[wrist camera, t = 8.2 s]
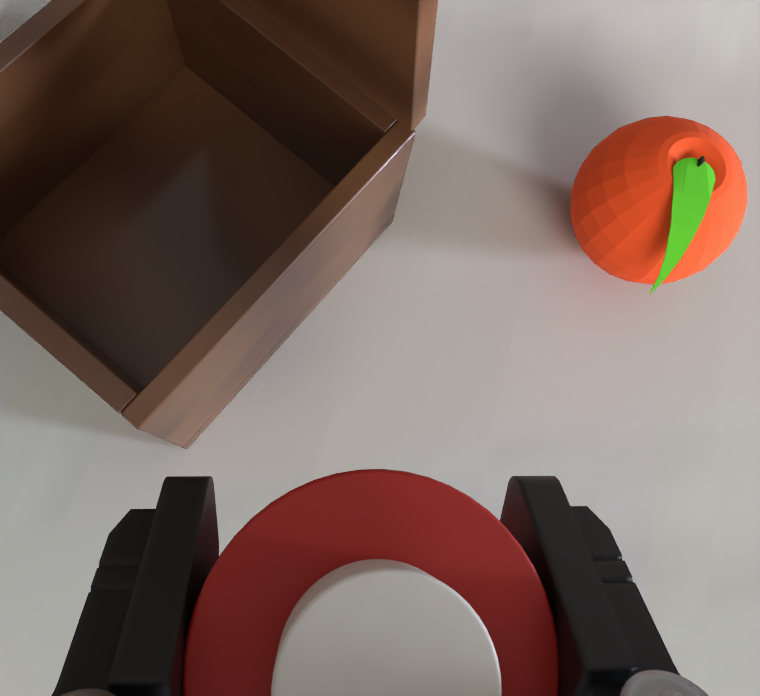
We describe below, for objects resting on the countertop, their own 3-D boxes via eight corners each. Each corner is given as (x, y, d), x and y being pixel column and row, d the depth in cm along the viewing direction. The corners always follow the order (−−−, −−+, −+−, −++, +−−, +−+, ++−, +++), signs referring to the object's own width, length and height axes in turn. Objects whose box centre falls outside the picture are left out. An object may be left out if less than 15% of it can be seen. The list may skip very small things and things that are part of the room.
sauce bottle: (353, 724, 17) (424, 1073, 7) (208, 595, 18) (55, 734, 7) (470, 566, 19) (686, 651, 8) (331, 448, 19) (360, 378, 8)
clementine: (676, 341, 31) (779, 296, 24) (531, 304, 31) (593, 247, 24) (698, 187, 33) (798, 104, 26) (561, 151, 33) (626, 57, 26)
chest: (187, 449, 28) (138, 430, 20) (-33, 259, 29) (-158, 173, 21) (393, 221, 31) (417, 130, 24) (188, 56, 32) (148, -83, 24)
